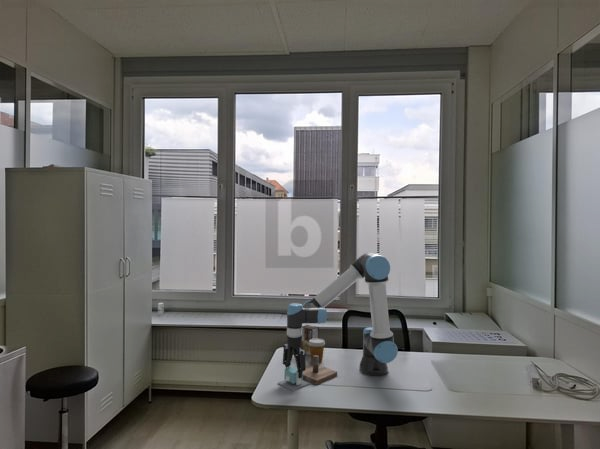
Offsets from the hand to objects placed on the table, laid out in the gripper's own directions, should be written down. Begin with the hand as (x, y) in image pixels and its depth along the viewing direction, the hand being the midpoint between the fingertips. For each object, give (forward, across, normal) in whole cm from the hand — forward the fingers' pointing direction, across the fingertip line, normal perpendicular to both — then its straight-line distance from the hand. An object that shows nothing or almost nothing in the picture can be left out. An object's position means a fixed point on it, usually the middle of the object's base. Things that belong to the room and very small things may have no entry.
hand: (293, 381), depth 194 cm
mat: (+1, 0, 0) cm, 1 cm away
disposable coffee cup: (+1, +13, -31) cm, 34 cm away
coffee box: (+1, +25, -38) cm, 46 cm away
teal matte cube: (-1, 0, 0) cm, 1 cm away
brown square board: (+1, 0, -16) cm, 16 cm away
